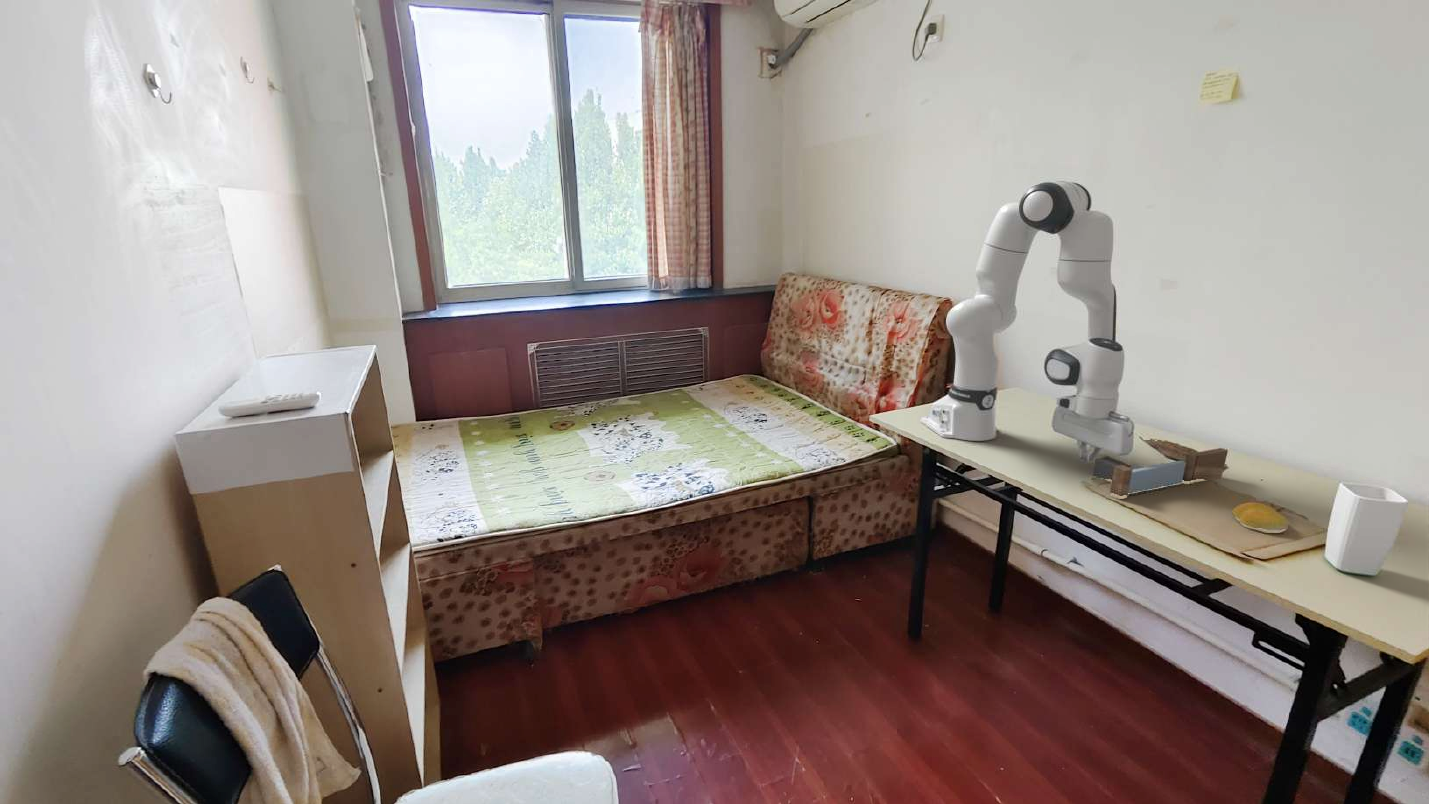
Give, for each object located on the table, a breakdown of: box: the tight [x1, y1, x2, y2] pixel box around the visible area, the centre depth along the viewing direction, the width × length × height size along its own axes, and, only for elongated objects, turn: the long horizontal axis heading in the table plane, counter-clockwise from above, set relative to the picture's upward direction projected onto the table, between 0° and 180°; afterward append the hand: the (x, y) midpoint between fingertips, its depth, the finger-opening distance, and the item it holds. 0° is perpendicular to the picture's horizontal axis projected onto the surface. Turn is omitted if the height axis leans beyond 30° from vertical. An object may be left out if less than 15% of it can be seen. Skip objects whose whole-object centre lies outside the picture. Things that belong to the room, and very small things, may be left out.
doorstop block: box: [1092, 455, 1131, 480], centre depth 152 cm, size 6×4×4 cm, turn 19°
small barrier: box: [1109, 447, 1229, 496], centre depth 147 cm, size 2×33×7 cm, turn 109°
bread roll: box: [1232, 501, 1289, 530], centre depth 130 cm, size 8×9×4 cm
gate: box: [1128, 460, 1186, 493], centre depth 146 cm, size 1×17×6 cm, turn 109°
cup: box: [1324, 482, 1410, 577], centre depth 112 cm, size 7×7×15 cm
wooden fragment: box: [1143, 437, 1228, 472], centre depth 168 cm, size 26×11×1 cm, turn 4°
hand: (1086, 459), depth 159 cm, fingers closed
